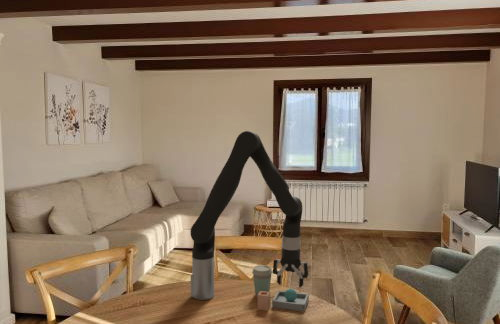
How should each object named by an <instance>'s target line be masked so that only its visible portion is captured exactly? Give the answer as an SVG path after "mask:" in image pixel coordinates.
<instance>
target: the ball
mask: <svg viewBox="0 0 500 324" xmlns="http://www.w3.org/2000/svg"><path fill="white" fill-rule="evenodd" d="M297 293H298V292H297V291H296V289H293V288H288V289H287V290H286V292H285V298H286V299H287V300H288V301H294V300H295V299H296V298H297Z"/></svg>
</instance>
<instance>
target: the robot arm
mask: <svg viewBox="0 0 500 324" xmlns="http://www.w3.org/2000/svg"><path fill="white" fill-rule="evenodd" d="M250 158H251V159H252V161H253V162H254V163H255V164H256V166H257V168H258V170H259V172H260V174H261V176H262V178H263V180H264V181H265V184H266V186H268V188H269V190H270V191H271V193H272V194H273V196H274V198H275V200H276V202H277V205H278V206H279V209H280V210H281V212H282V213H283V214H284V215H285V218H284V222H283V224H282V237H281V238H282V240H281V258H279V259H278V258H277V257H275V258H274V259H273V266H272V275H273V274H274V275H276V283H277V284H278V286H280V285H282V274H283V272H284V271H286V272H291V273H294V272H295V274H296V275H297V276H298V277H299V278H298V280H299V281H298V282H299V283H298V288H302V287H304V279H307V278H308V277H309V262H308V261H301V247H302V244H301V242H302V240H301V222H302V216H303V202H302V200H301V199H300V198H299V197H297V196H293V195H292V194H291V192H290V186H289V184H288V183H287V181H286V180H285V179H284V177H283V176H282V174H281V172H280V171H279V170H278V169H277V166H275V164H274V162H273V161H272V160H271V158H270V156H269V154H268V152H267V150H266V148H265V146H264V144H263V143H262V140H261V138H260V136H259V134H257V132H256V133H255V132H253V131H251V130H250V131H249V130H245V131H242V132H241V133H239V134H238V135H237V137H236V139H235V142H234V144H233V147H232V149H231V151H230V154H229V157H228V159H227V161H226V162H225V163H224V166H223V167H222V168H221V171H220V173H219V175H218V176H217V178H216V180H215V182H214V184H213V186H212V189H211V190H210V192H209V195H208V197H207V199H206V201H205V205H204V206H203V210H201V213H200V214H199V216H198V217H197V218H196V220H195V222H194V223H193V224H192V226H191V227H190V237H191V239H192V241H193V245H192V251H191V255H192V256H191V258H192V264H191V265H192V267H191V269H192V272H191V273H192V274H190V298H193V299H195V300H200V301H205V300H210V299H213V298H214V296H215V247H216V246H215V245H216V240H215V239H216V231H215V229H216V228H215V227H216V225H217V222H218V220H219V217H220V216H221V214H223V212H224V210H225V209H226V208H227V207H228V205H229V203H230V202H231V200H232V198H233V197H234V194H235V193H236V191H237V189H238V187H239V184H240V181H241V178H242V174H243V170H244V168H245V166H246V164H247V161H248V160H249V159H250ZM279 264H280V265H281V266H282V267H281V269H280V270H278V266H279ZM300 267H302V268H303V271H304V272H302V269H301V268H300Z"/></svg>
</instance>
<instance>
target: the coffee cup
mask: <svg viewBox="0 0 500 324" xmlns="http://www.w3.org/2000/svg"><path fill="white" fill-rule="evenodd" d="M272 275H273V269H272V268H271V266H269V265H265V264H264V265H263V264H262V265H261V264H260V265H256V266H253V269H252V276H253V284H254V285H253V286H254V294H255V296H256V298H258V294H259V292H260V291H266V292H271V291H270V289H271V279H272Z"/></svg>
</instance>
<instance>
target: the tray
mask: <svg viewBox="0 0 500 324" xmlns="http://www.w3.org/2000/svg"><path fill="white" fill-rule="evenodd" d="M285 292H286V291H285V290H277V292H276V294H275V296H274V297H273V299H272V300H271V301H272V302H271V304H272V305H271V307H272V308H274V309H283V310H290V311H298V312H305V311H306V308H307V306H308V304H309V299H310V297H309V296H310V293H303V292H296V293H297V298H296V299H295V300H294V301H288V300H287V299H286V298H285Z"/></svg>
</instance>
